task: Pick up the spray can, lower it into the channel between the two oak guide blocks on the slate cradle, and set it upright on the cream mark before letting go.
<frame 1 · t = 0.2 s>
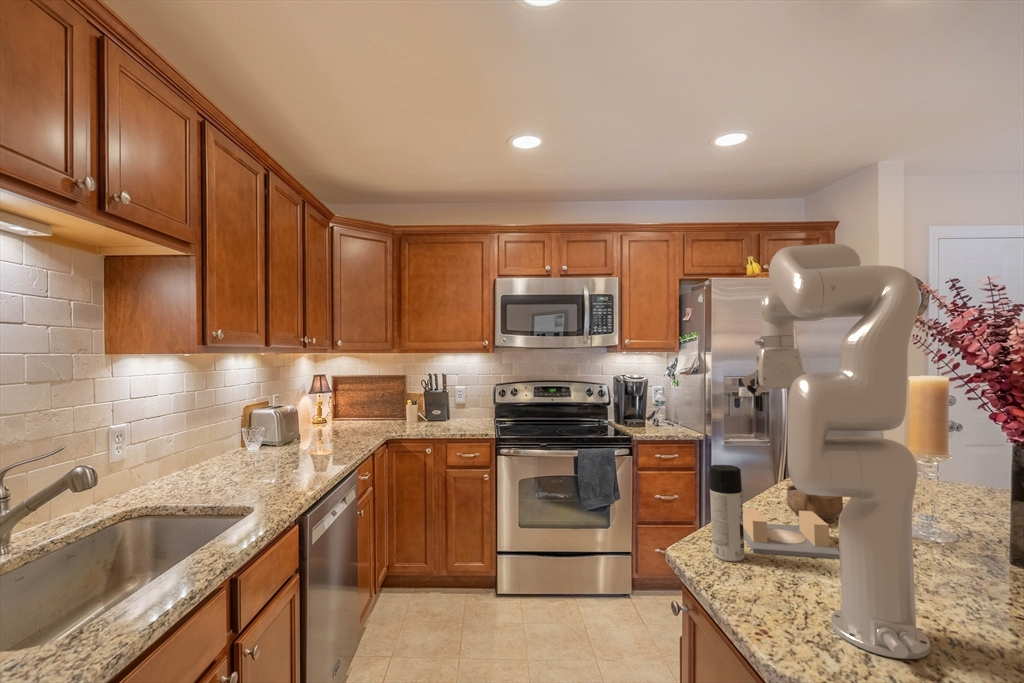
hand: (779, 411, 121), 31 cm above the countertop, fingers open, 9 cm apart
cradle: (784, 540, 116), on the countertop
bowl: (814, 519, 131), on the countertop
spray can: (728, 557, 108), on the countertop
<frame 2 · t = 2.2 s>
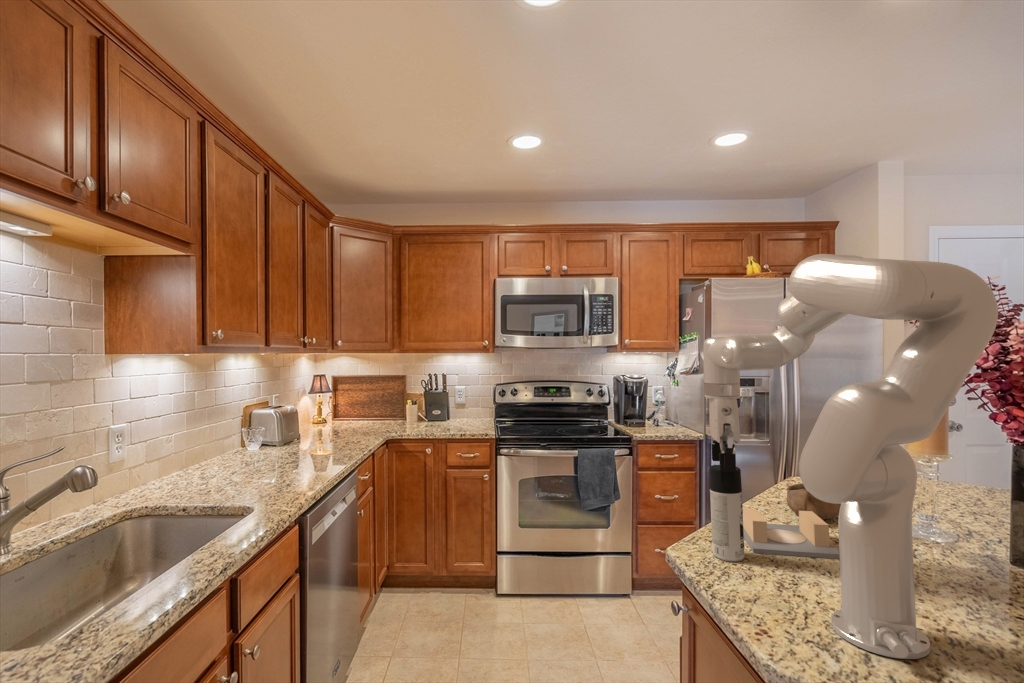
hand: (723, 465, 109), 20 cm above the countertop, fingers open, 9 cm apart
nothing on the countertop moved.
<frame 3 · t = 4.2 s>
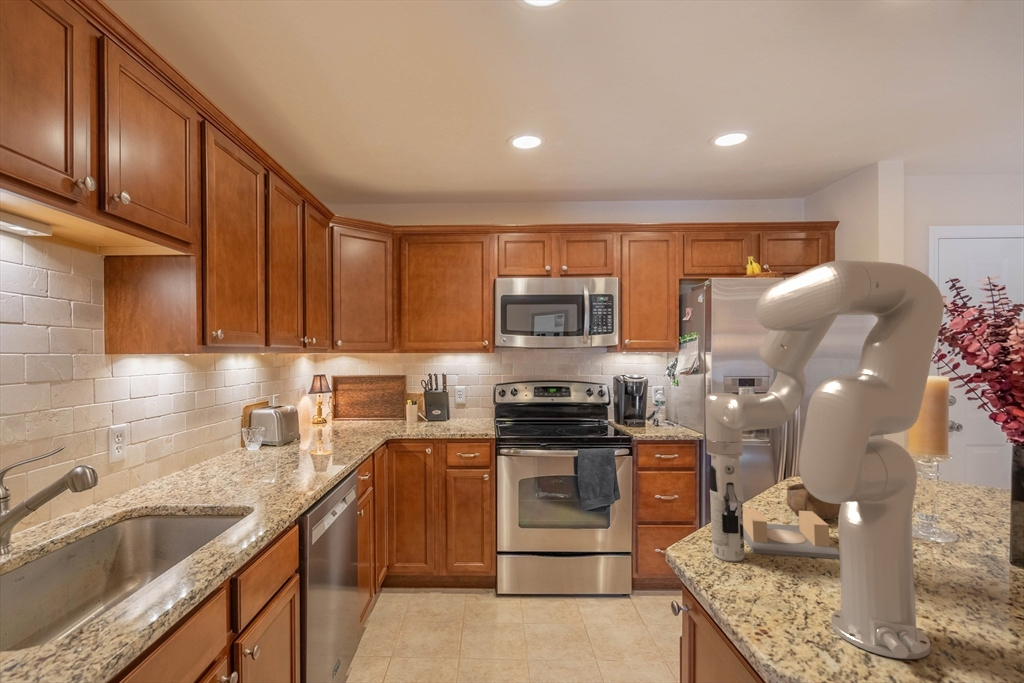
hand: (727, 526, 108), 7 cm above the countertop, fingers closed on spray can, 6 cm apart
spray can: (728, 557, 108), on the countertop, touching gripper
everything else where it was.
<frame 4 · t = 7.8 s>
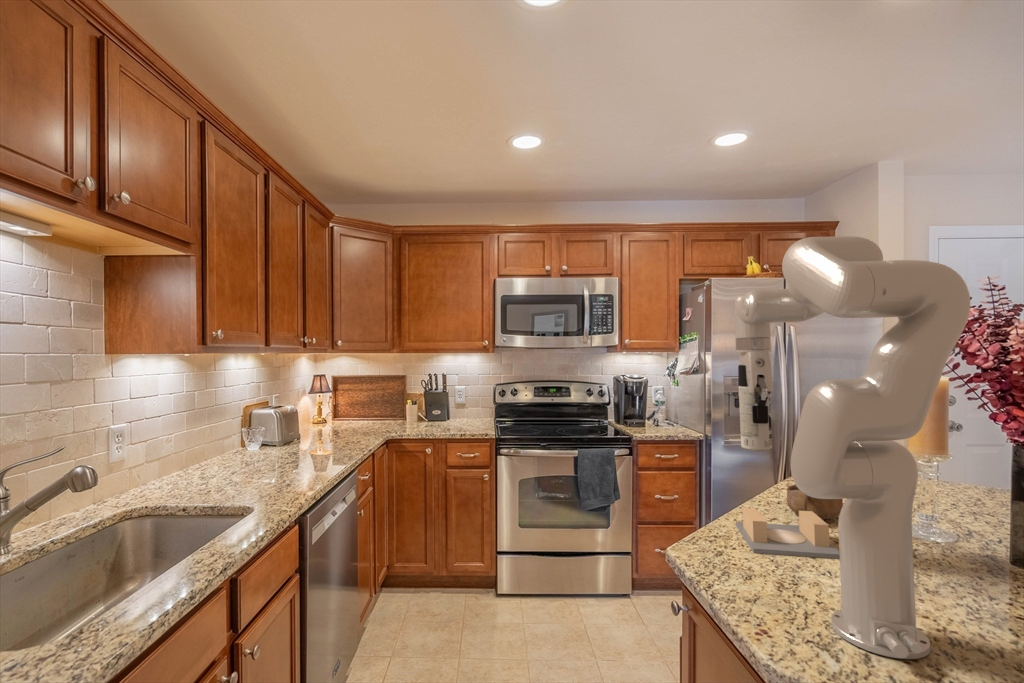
hand: (755, 420, 113), 30 cm above the countertop, fingers closed on spray can, 6 cm apart
spray can: (756, 449, 113), point 23 cm above the countertop, touching gripper
everything else where it was.
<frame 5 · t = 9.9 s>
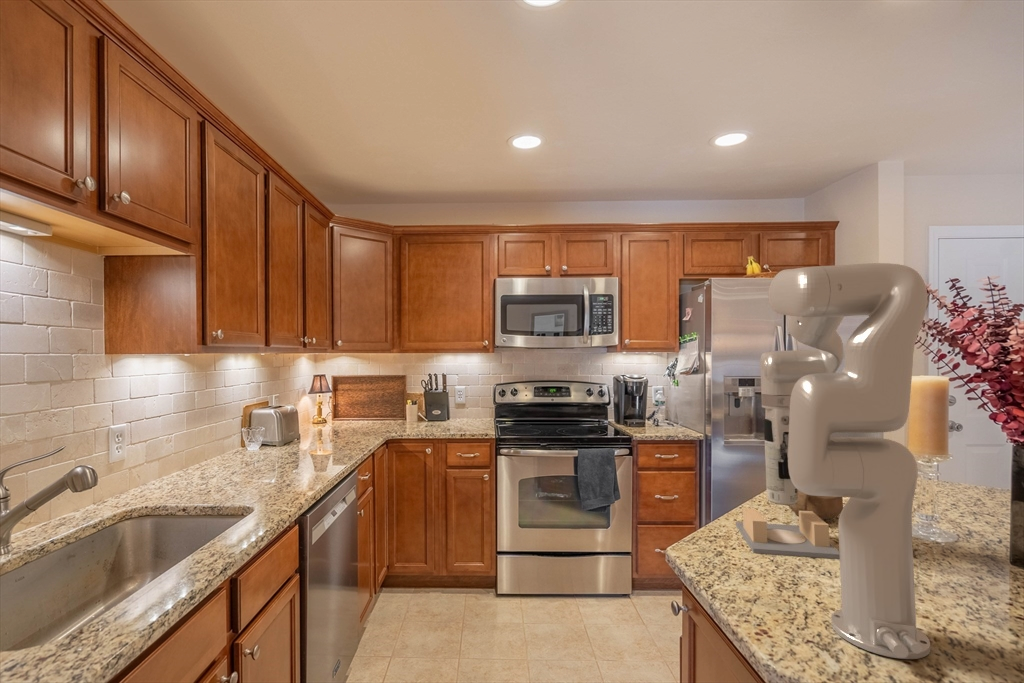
hand: (781, 474, 117), 16 cm above the countertop, fingers closed on spray can, 6 cm apart
spray can: (782, 502, 116), point 9 cm above the countertop, touching gripper
everything else where it was.
when the fingers open (9 cm above the countertop, at t = 11.6 s): spray can drops 1 cm, resting on cradle.
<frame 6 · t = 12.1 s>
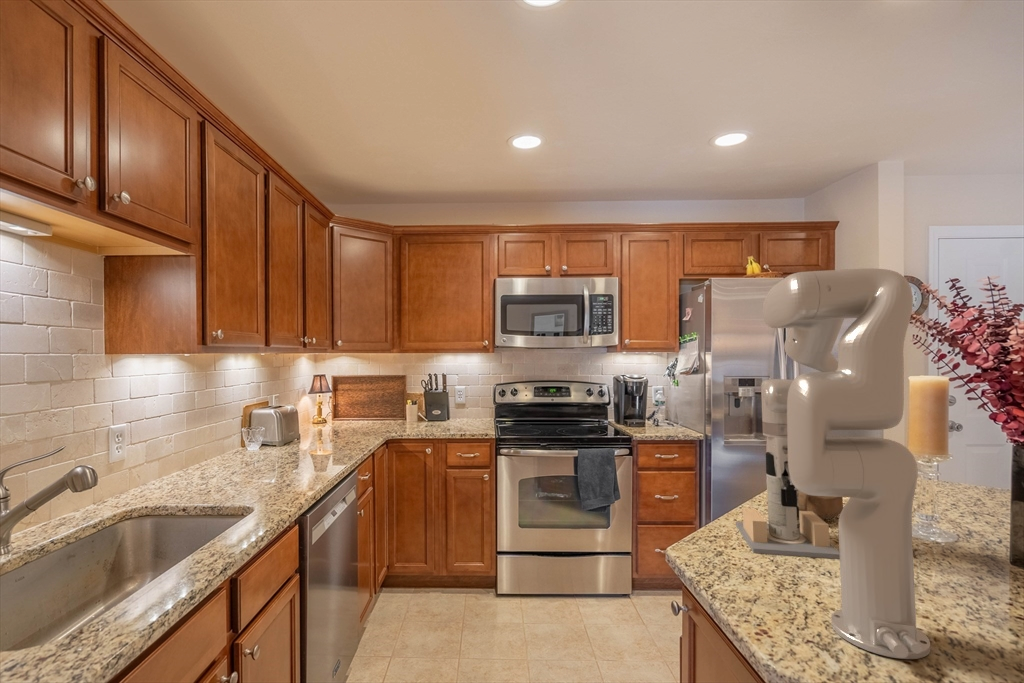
hand: (782, 500, 116), 10 cm above the countertop, fingers open, 9 cm apart
spray can: (784, 537, 116), point 1 cm above the countertop, touching cradle
everything else where it was.
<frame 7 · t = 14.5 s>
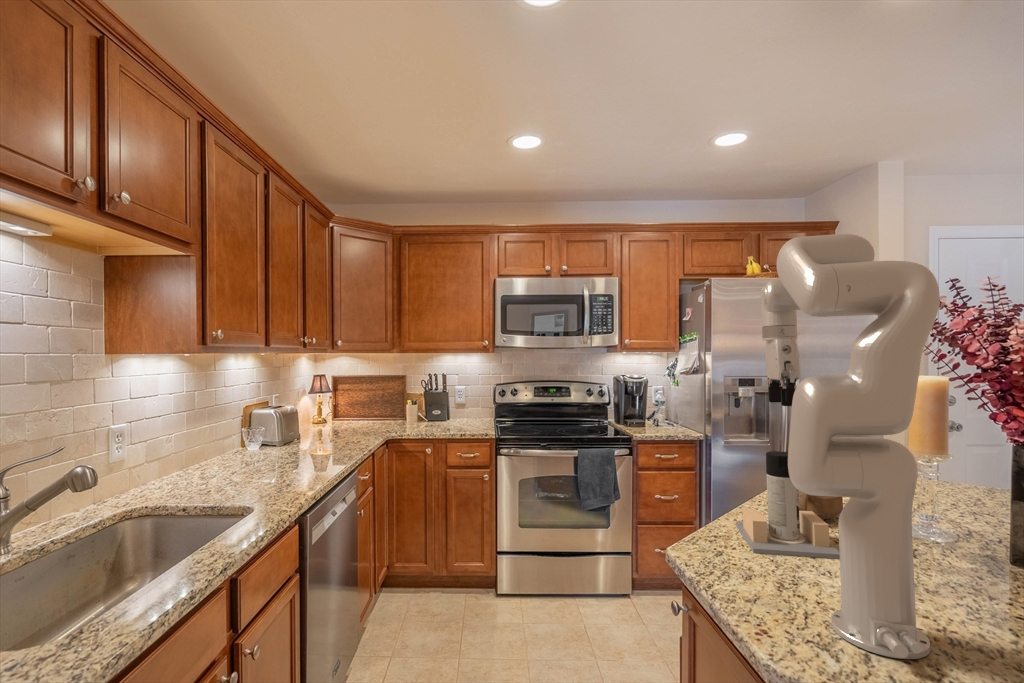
hand: (782, 404, 116), 33 cm above the countertop, fingers open, 9 cm apart
nothing on the countertop moved.
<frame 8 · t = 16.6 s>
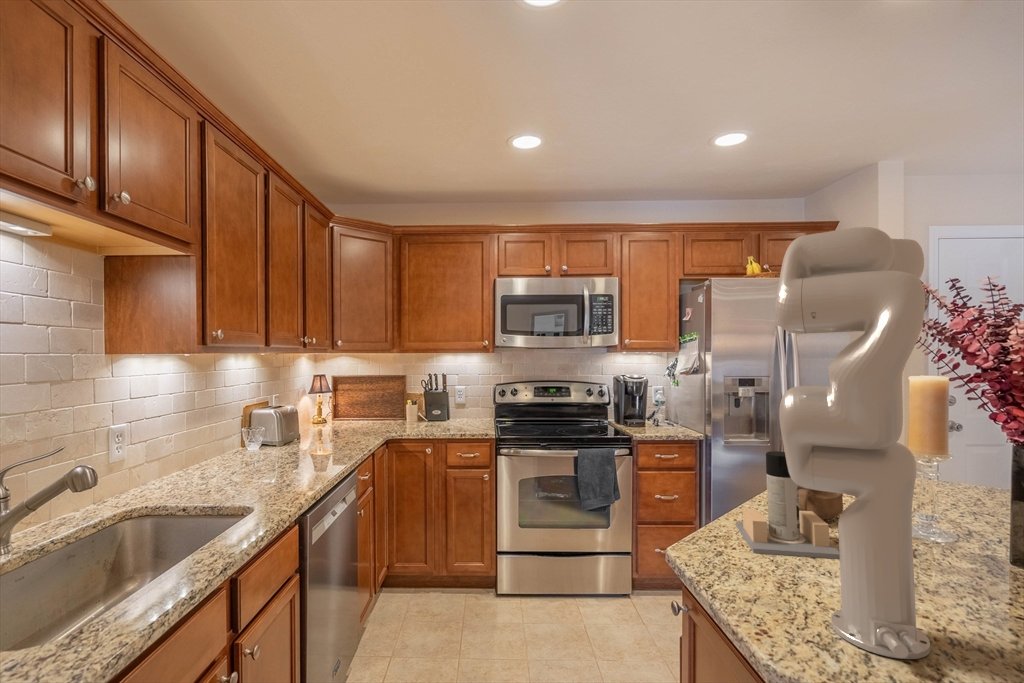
hand: (872, 396, 100), 36 cm above the countertop, fingers open, 9 cm apart
nothing on the countertop moved.
at the end: spray can 0.3 cm off-centre on the cradle, point 1.0 cm above the cradle's base; spray can tilted 0°; the gripper is holding nothing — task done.
